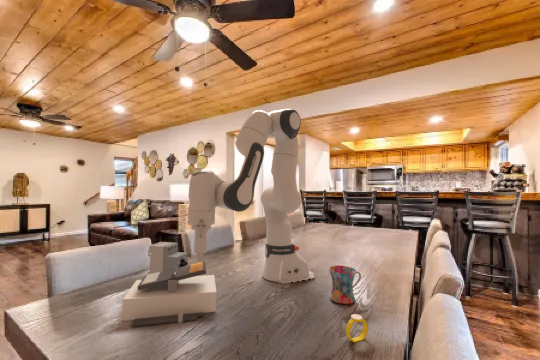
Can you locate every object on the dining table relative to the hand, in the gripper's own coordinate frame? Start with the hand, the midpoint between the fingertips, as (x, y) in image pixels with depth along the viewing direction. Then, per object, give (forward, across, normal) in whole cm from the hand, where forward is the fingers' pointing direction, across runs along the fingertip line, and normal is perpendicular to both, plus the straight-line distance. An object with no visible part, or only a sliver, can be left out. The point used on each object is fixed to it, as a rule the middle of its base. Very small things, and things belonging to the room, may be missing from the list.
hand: (200, 260), depth 86 cm
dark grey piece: (+14, -11, +8) cm, 19 cm away
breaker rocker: (+4, 0, +8) cm, 9 cm away
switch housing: (+14, 0, +8) cm, 16 cm away
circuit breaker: (+14, +21, +12) cm, 28 cm away
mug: (+14, -9, -49) cm, 52 cm away
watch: (+14, -31, -39) cm, 52 cm away
